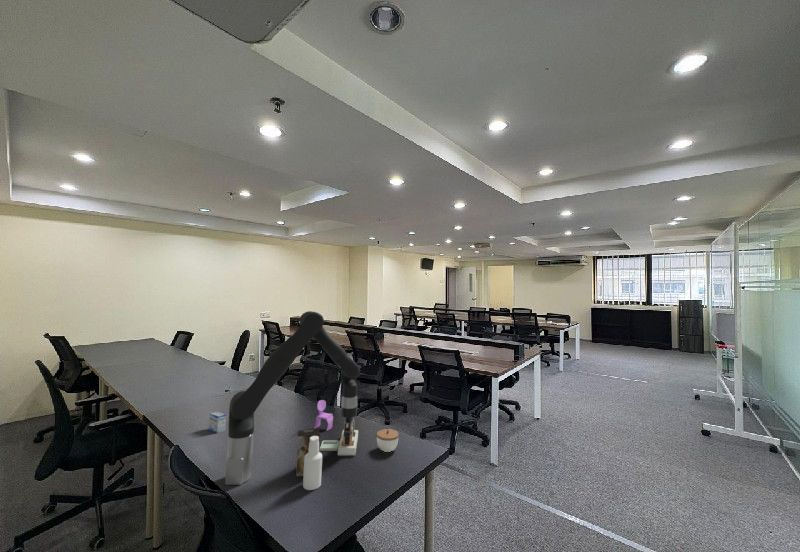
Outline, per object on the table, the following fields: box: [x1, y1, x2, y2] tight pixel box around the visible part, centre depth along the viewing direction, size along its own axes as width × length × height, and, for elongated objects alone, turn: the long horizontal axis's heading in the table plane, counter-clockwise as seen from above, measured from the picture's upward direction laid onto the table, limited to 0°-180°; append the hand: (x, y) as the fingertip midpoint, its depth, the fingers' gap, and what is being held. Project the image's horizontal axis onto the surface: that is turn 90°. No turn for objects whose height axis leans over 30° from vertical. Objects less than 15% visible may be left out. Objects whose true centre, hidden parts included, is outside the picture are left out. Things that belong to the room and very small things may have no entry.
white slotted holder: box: [337, 418, 359, 457], centre depth 156 cm, size 20×8×11 cm, turn 4°
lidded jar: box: [376, 428, 400, 453], centre depth 154 cm, size 11×11×9 cm
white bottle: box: [302, 436, 323, 491], centre depth 124 cm, size 7×7×18 cm
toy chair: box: [313, 399, 334, 431], centre depth 177 cm, size 8×9×15 cm
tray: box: [320, 439, 340, 452], centre depth 154 cm, size 8×8×2 cm
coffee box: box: [296, 428, 321, 477], centre depth 133 cm, size 9×6×16 cm
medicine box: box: [208, 411, 227, 434], centre depth 170 cm, size 8×4×9 cm, turn 62°
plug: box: [343, 426, 353, 446], centre depth 151 cm, size 4×4×10 cm
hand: (347, 440), depth 151 cm, fingers open, 8 cm apart
